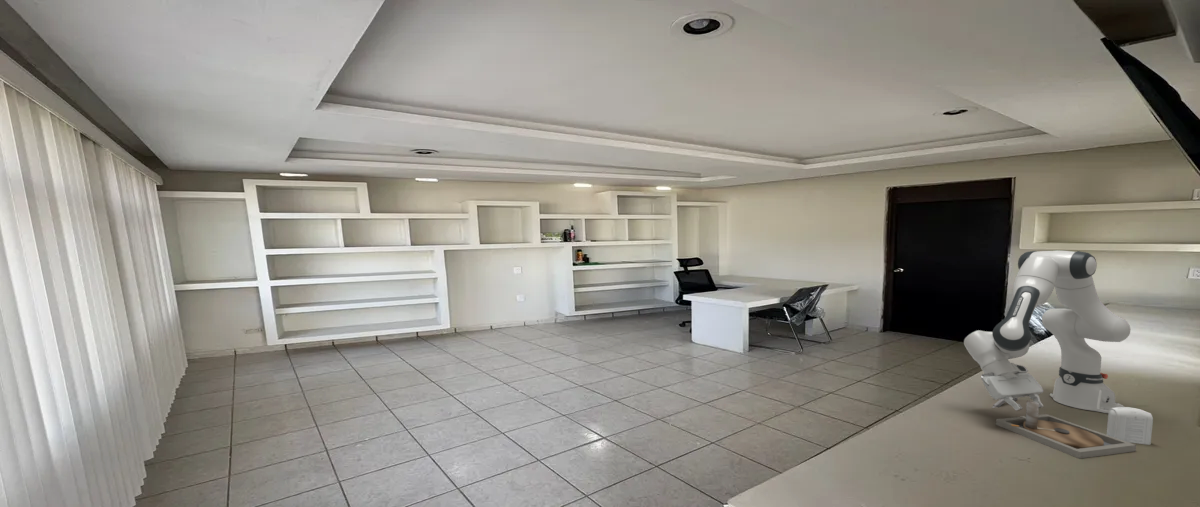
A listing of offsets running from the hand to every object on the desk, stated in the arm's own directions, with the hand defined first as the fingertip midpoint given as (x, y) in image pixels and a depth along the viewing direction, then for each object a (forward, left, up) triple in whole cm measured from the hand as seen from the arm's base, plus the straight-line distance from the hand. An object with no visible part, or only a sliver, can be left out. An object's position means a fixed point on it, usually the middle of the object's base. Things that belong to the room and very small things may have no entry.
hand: (1029, 408), depth 154 cm
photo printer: (-27, +11, -10) cm, 31 cm away
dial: (-7, +5, -8) cm, 12 cm away
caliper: (-23, -24, -10) cm, 34 cm away
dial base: (-7, +5, -10) cm, 13 cm away
